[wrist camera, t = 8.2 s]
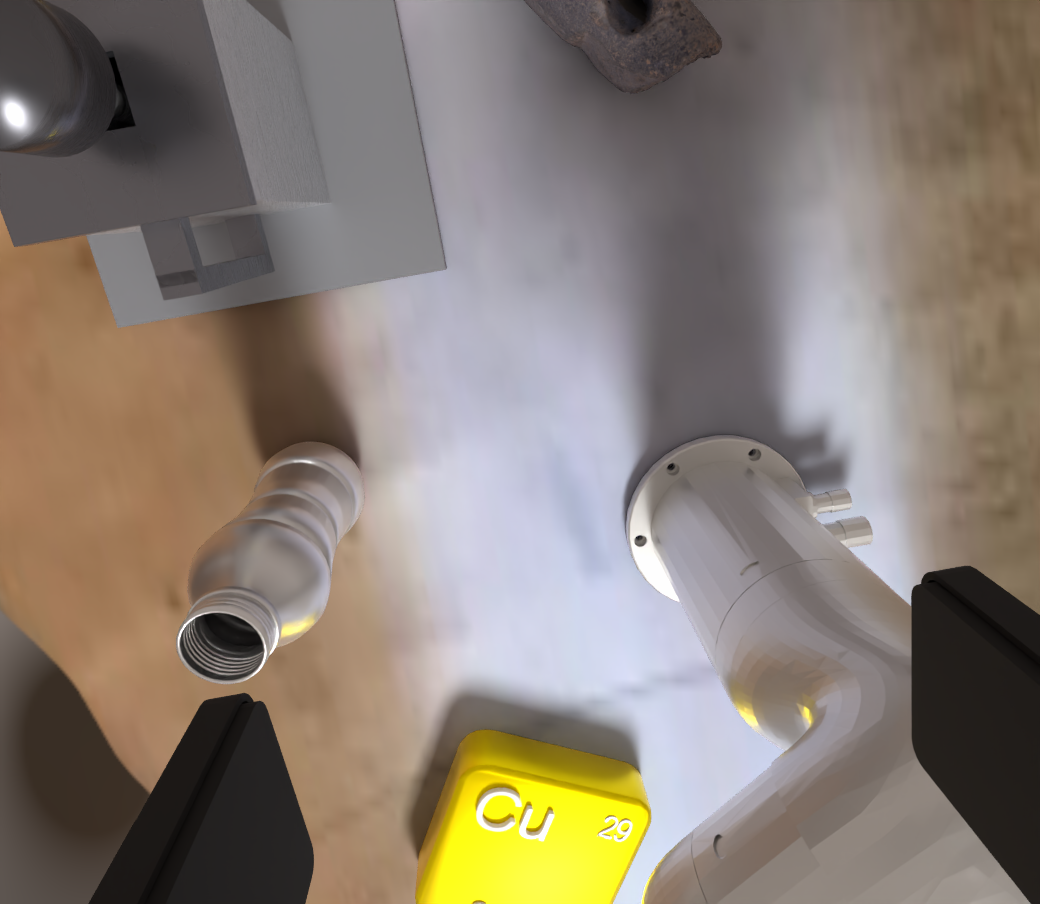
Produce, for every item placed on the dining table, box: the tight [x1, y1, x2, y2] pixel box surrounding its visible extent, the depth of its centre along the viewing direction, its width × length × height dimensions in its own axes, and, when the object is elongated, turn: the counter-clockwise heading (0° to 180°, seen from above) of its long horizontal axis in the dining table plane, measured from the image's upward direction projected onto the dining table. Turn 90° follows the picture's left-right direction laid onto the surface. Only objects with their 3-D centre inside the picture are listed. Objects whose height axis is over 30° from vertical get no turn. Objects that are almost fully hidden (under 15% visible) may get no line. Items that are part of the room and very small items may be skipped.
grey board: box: [87, 0, 447, 328], centre depth 42 cm, size 20×18×1 cm
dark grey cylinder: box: [0, 0, 135, 157], centre depth 29 cm, size 4×4×20 cm
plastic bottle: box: [176, 442, 365, 684], centre depth 40 cm, size 6×7×20 cm
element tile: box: [415, 729, 651, 904], centre depth 57 cm, size 15×15×5 cm
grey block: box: [0, 0, 331, 301], centre depth 34 cm, size 9×12×17 cm
